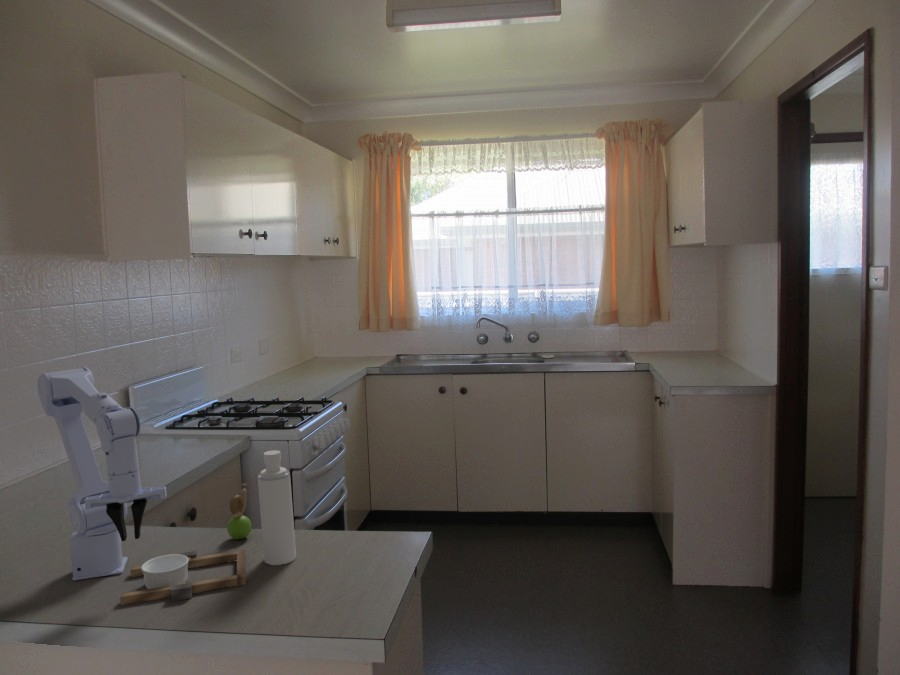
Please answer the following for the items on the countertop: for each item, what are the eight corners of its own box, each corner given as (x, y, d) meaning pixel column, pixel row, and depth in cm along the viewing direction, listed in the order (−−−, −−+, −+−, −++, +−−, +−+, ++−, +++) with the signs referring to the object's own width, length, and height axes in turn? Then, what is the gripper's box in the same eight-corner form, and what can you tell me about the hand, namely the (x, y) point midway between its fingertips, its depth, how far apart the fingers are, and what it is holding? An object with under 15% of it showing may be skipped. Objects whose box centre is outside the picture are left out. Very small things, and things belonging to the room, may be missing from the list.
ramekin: (175, 569, 151) (173, 550, 151) (199, 580, 146) (197, 559, 145) (134, 586, 144) (132, 565, 144) (157, 597, 139) (155, 576, 138)
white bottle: (302, 555, 155) (294, 442, 152) (280, 567, 149) (271, 450, 147) (279, 550, 159) (271, 439, 156) (257, 562, 153) (248, 447, 150)
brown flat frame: (119, 610, 134) (118, 598, 134) (133, 570, 152) (132, 560, 151) (245, 589, 140) (244, 578, 140) (245, 553, 158) (244, 543, 158)
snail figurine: (259, 532, 169) (255, 483, 168) (244, 543, 163) (240, 492, 162) (238, 531, 171) (234, 482, 170) (223, 542, 165) (219, 491, 163)
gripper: (78, 481, 135) (86, 551, 136) (160, 471, 139) (168, 539, 140) (86, 472, 141) (93, 538, 143) (164, 462, 145) (171, 527, 147)
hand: (131, 538), depth 142 cm, fingers closed
